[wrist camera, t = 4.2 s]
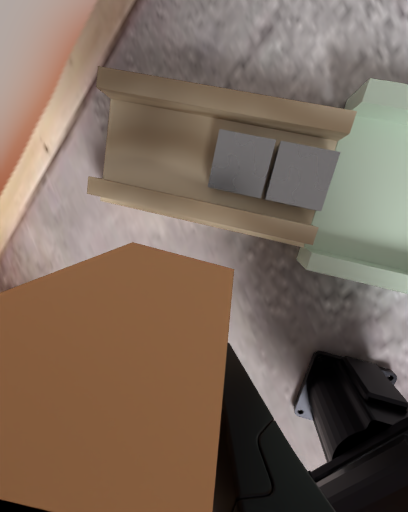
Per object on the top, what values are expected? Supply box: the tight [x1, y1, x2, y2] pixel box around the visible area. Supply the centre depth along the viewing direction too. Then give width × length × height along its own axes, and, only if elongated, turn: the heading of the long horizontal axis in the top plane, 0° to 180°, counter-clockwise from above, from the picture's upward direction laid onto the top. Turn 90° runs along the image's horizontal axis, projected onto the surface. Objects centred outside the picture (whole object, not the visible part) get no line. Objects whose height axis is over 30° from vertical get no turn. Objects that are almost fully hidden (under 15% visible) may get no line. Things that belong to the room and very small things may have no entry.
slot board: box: [87, 66, 357, 247], centre depth 17 cm, size 9×16×3 cm, turn 78°
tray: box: [296, 78, 408, 294], centre depth 16 cm, size 11×10×3 cm
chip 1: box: [208, 129, 276, 199], centre depth 16 cm, size 4×4×2 cm
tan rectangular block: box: [0, 242, 234, 512], centre depth 7 cm, size 5×5×9 cm
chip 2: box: [263, 141, 340, 211], centre depth 16 cm, size 4×4×2 cm
